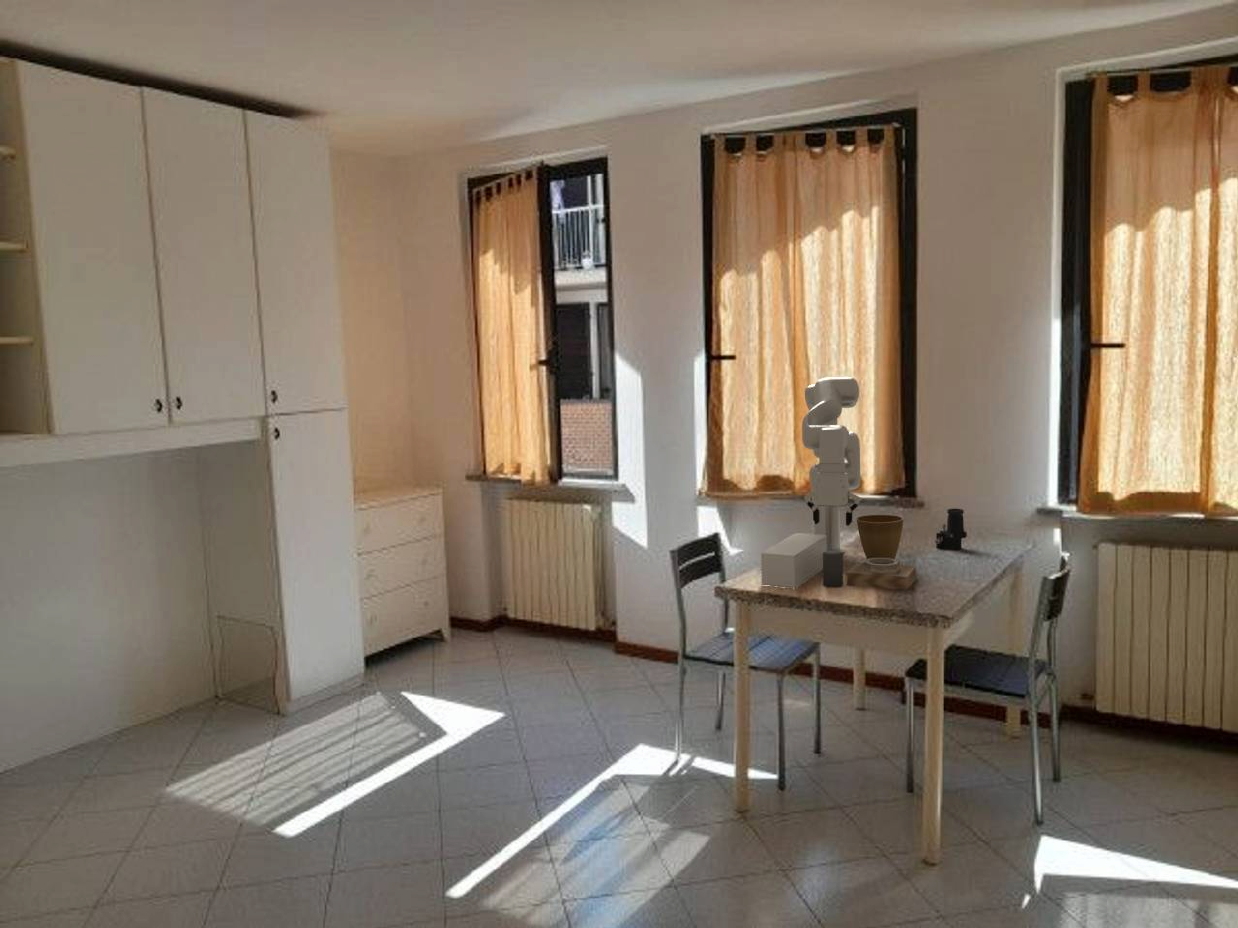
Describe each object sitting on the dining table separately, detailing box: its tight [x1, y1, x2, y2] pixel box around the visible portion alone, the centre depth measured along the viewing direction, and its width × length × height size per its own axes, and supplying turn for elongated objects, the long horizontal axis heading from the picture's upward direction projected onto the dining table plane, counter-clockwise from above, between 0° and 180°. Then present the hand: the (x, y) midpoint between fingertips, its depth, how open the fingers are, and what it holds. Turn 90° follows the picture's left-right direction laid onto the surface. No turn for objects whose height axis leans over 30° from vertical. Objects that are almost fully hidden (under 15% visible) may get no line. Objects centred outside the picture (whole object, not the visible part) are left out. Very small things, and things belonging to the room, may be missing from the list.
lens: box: [822, 551, 844, 588], centre depth 297 cm, size 6×6×10 cm
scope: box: [934, 508, 968, 551], centre depth 339 cm, size 8×14×10 cm
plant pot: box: [856, 514, 904, 560], centre depth 319 cm, size 15×15×16 cm
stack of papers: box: [760, 532, 827, 590], centre depth 310 cm, size 32×11×11 cm, turn 151°
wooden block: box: [846, 557, 917, 591], centre depth 298 cm, size 18×14×6 cm
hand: (832, 524), depth 295 cm, fingers open, 9 cm apart
